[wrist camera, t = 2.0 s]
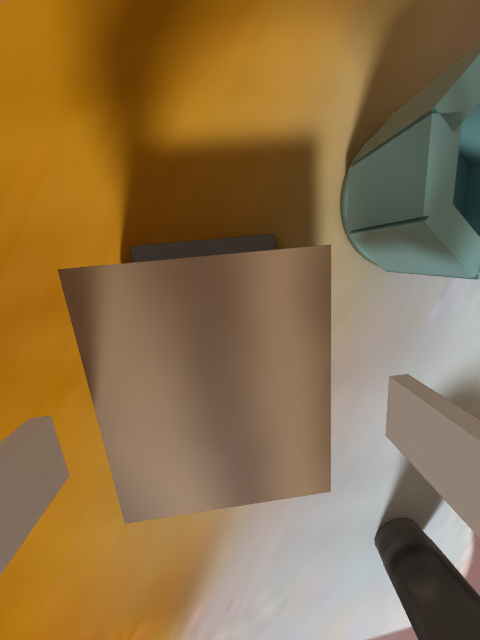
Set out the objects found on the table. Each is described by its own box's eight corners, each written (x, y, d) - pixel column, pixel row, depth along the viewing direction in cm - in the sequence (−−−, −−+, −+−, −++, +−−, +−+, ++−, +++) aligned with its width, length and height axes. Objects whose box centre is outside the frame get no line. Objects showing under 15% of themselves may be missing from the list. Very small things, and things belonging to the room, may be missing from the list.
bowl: (339, 274, 17) (417, 285, 11) (341, 123, 15) (440, 17, 8) (461, 262, 18) (607, 265, 11) (480, 115, 16) (677, 9, 9)
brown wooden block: (153, 441, 19) (125, 523, 13) (116, 264, 16) (57, 269, 10) (296, 422, 20) (330, 491, 14) (290, 248, 16) (330, 244, 11)
